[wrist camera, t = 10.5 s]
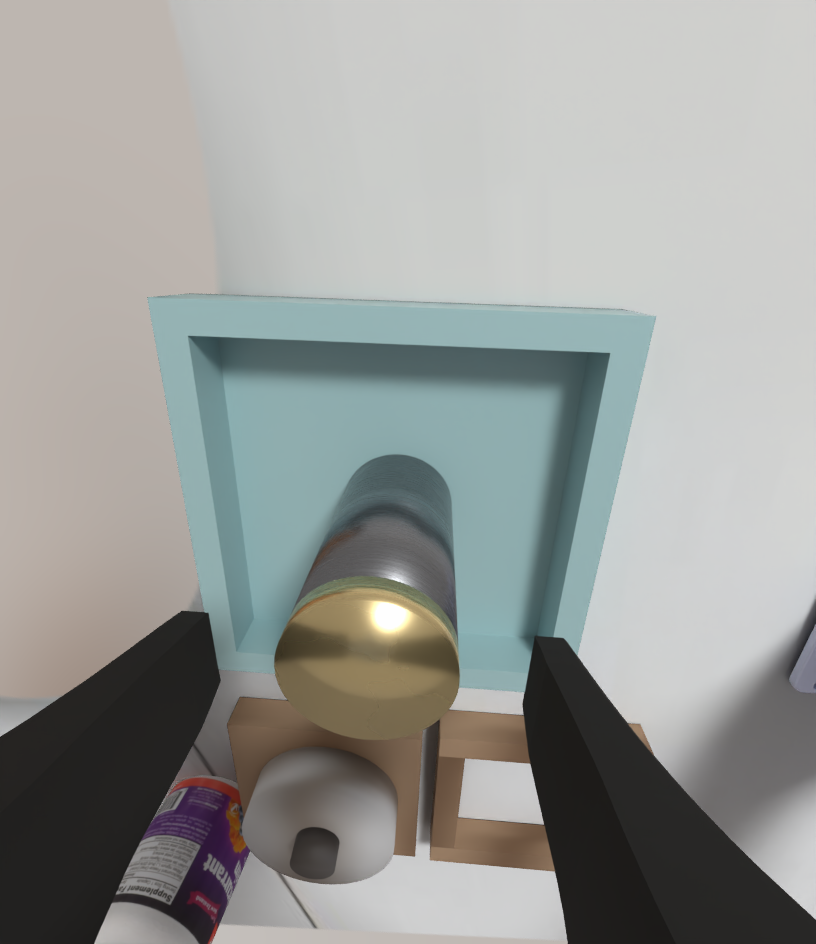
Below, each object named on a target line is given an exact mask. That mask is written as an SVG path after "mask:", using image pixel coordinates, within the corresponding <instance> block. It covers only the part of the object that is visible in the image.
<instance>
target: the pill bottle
mask: <svg viewBox="0 0 816 944" xmlns="http://www.w3.org/2000/svg"><path fill="white" fill-rule="evenodd" d="M243 820H244V817H243V811H242V805H241V800H240V794H239V789H238V783H236V782H234V781H231V780H228V779H225V778H221V777H216V776H194V777H190V778H187V779H184V780H182V781H180V782H179V783H178V784H176V786H175V787H174V788H173V790H172V791H171V792H170V794H169V795H168V797H167V799H166V800H165V802H164V803H163V805H162V806H161V808H160V809H159V811H158V813H157V814H156V816H155V817H154V819H153V821H152V822H151V824H150V825H149V827H148V829H147V831H146V833H145V834H144V836H143V838H142V840H141V842H140V844H139V846H138V848H137V850H136V852H135V854H134V856H133V858H132V860H131V862H130V864H129V866H128V868H127V870H126V872H125V874H124V877H123V879H122V881H121V884H120V886H119V888H118V890H117V893H116V895H115V897H114V899H113V902H112V904H111V906H110V908H109V911H108V913H107V915H106V917H105V920H104V922H103V924H102V926H101V929H100V931H99V933H98V936H97V938H96V940H95V943H94V944H211V943H212V941H213V938H214V936H215V934H216V931H217V929H218V926H219V924H220V922H221V919H222V917H223V915H224V912H225V910H226V907H227V905H228V903H229V900H230V898H231V895H232V893H233V891H234V888H235V886H236V884H237V881H238V879H239V876H240V874H241V871H242V869H243V867H244V864H245V862H246V860H247V857H248V855H249V852H250V849H249V848H248V846H247V845H246V843H245V841H244V838H243V834H242V823H243Z"/></svg>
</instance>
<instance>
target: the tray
mask: <svg viewBox="0 0 816 944" xmlns="http://www.w3.org/2000/svg"><path fill="white" fill-rule="evenodd" d="M148 303H149V309H150V315H151V320H152V326H153V331H154V337H155V342H156V348H157V353H158V359H159V364H160V370H161V375H162V381H163V386H164V392H165V397H166V403H167V409H168V414H169V420H170V425H171V430H172V436H173V442H174V447H175V452H176V458H177V463H178V468H179V475H180V480H181V486H182V491H183V496H184V502H185V508H186V513H187V519H188V524H189V530H190V535H191V541H192V546H193V552H194V557H195V562H196V568H197V574H198V579H199V585H200V590H201V596H202V601H203V607H204V612H205V613H209V618H210V624H211V630H212V635H213V641H214V647H215V652H216V658H217V664H218V669H219V670H230V671H244V672H257V673H271V674H275V669H274V657H275V652H276V648H277V645H278V643H279V640H280V638H281V635H282V633H283V631H284V629H285V626H286V624H287V622H288V619H289V617H290V615H291V613H292V610H293V608H294V606H295V603H296V601H297V599H298V597H299V594H300V592H301V590H302V587H303V585H304V583H305V581H306V578H307V576H308V574H309V571H310V569H311V567H312V565H313V562H314V560H315V558H316V555H317V553H318V551H319V549H320V546H321V544H322V542H323V539H324V537H325V535H326V533H327V530H328V528H329V526H330V523H331V521H332V519H333V517H334V514H335V512H336V510H337V507H338V505H339V503H340V501H341V498H342V496H343V494H344V491H345V489H346V487H347V485H348V482H349V480H350V479H351V477H352V475H353V474H354V473H355V472H356V470H358V469H359V468H360V467H361V466H362V465H363V464H365V463H366V462H368V461H370V460H372V459H374V458H377V457H380V456H384V455H391V454H402V455H408V456H412V457H416V458H418V459H420V460H423V461H424V462H426V463H428V464H429V465H431V466H432V467H433V468H435V469H436V470H437V471H438V472H439V473H440V475H441V476H442V477H443V478H444V480H445V482H446V483H447V486H448V488H449V491H450V494H451V501H452V520H453V542H454V563H455V584H456V605H457V627H458V648H459V669H460V682H459V687H461V688H475V689H488V690H502V691H515V692H525V688H526V682H527V677H528V671H529V666H530V660H531V655H532V649H533V644H534V638H535V636H544V637H558V638H564V639H565V640H566V641H567V642H568V644H569V645H570V646H571V648H572V649H573V651H574V652H575V653H576V655H578V650H579V646H580V642H581V637H582V633H583V629H584V625H585V620H586V616H587V612H588V607H589V603H590V599H591V595H592V590H593V586H594V582H595V577H596V573H597V569H598V564H599V560H600V556H601V552H602V547H603V543H604V539H605V534H606V530H607V526H608V521H609V517H610V513H611V509H612V504H613V500H614V496H615V491H616V487H617V483H618V479H619V474H620V470H621V466H622V461H623V457H624V453H625V448H626V444H627V440H628V436H629V431H630V427H631V423H632V418H633V414H634V410H635V405H636V401H637V397H638V393H639V388H640V384H641V380H642V375H643V371H644V367H645V362H646V358H647V354H648V350H649V345H650V341H651V337H652V332H653V328H654V324H655V320H656V316H652V315H647V314H642V313H638V312H633V311H628V310H623V309H599V308H572V307H545V306H517V305H490V304H463V303H436V302H408V301H381V300H354V299H327V298H299V297H272V296H245V295H218V294H180V295H169V296H158V297H148Z"/></svg>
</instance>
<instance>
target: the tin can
mask: <svg viewBox="0 0 816 944" xmlns="http://www.w3.org/2000/svg"><path fill="white" fill-rule="evenodd" d="M274 669H275V675H276V678H277V681H278V685H279V687H280V689H281V691H282V693H283V694H284V696H285V697H286V698H287V700H288V701H289V702H290V704H291V705H292V706H293V707H294V708H295V709H296V710H297V711H298V712H299V713H301V714H302V715H303V716H304V717H306V718H307V719H308V720H310V721H311V722H313V723H315V724H316V725H318V726H320V727H322V728H324V729H326V730H329V731H331V732H334V733H337V734H340V735H343V736H347V737H351V738H357V739H364V740H388V739H396V738H401V737H405V736H409V735H412V734H415V733H418V732H420V731H422V730H424V729H426V728H428V727H429V726H431V725H433V724H434V723H436V722H437V721H438V720H439V719H440V718H442V717H443V716H444V714H445V713H446V712H447V711H448V710H449V708H450V707H451V705H452V704H453V702H454V700H455V698H456V695H457V693H458V688H459V682H460V669H459V648H458V627H457V605H456V584H455V563H454V542H453V520H452V501H451V494H450V491H449V488H448V486H447V483H446V482H445V480H444V478H443V477H442V476H441V475H440V473H439V472H438V471H437V470H436V469H435V468H433V467H432V466H431V465H429V464H428V463H426V462H424V461H423V460H420V459H418V458H416V457H412V456H408V455H402V454H391V455H384V456H380V457H377V458H374V459H372V460H370V461H368V462H366V463H365V464H363V465H362V466H361V467H360V468H359V469H358V470H356V472H355V473H354V474H353V475H352V477H351V479H350V480H349V482H348V485H347V487H346V489H345V491H344V494H343V496H342V498H341V501H340V503H339V505H338V507H337V510H336V512H335V514H334V517H333V519H332V521H331V523H330V526H329V528H328V530H327V533H326V535H325V537H324V539H323V542H322V544H321V546H320V549H319V551H318V553H317V555H316V558H315V560H314V562H313V565H312V567H311V569H310V571H309V574H308V576H307V578H306V581H305V583H304V585H303V587H302V590H301V592H300V594H299V597H298V599H297V601H296V603H295V606H294V608H293V610H292V613H291V615H290V617H289V619H288V622H287V624H286V626H285V629H284V631H283V633H282V635H281V638H280V640H279V643H278V645H277V648H276V652H275V657H274Z"/></svg>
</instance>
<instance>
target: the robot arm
mask: <svg viewBox="0 0 816 944" xmlns="http://www.w3.org/2000/svg"><path fill="white" fill-rule="evenodd" d="M789 681H790V684H791V685H792V686H793V687H794V688H795V689H796V690H797V691H799V692H803V693H816V624H815V626H814V629H813V631H812V633H811V635H810V637H809V639H808V641H807V643H806V645H805V647H804V649H803V651H802V653H801V655H800V657H799V659H798V661H797V664H796V666H795V668H794V670H793V672H792V674H791V676H790V679H789ZM219 683H220V675H219V669H218V664H217V658H216V652H215V647H214V641H213V635H212V630H211V624H210V618H209V613H205V612H191V611H181V612H180V613H178V614H177V615H175V616H174V617H173V618H171V619H170V620H168V621H167V622H165V623H164V624H163V625H161V626H160V627H158V628H157V629H156V630H154V631H153V632H152V633H150V634H149V635H148V636H146V637H145V638H144V639H142V640H141V641H139V642H138V643H137V644H135V645H134V646H133V647H131V648H130V649H129V650H127V651H126V652H124V653H123V654H122V655H120V656H119V657H118V658H116V659H115V660H113V661H112V662H111V663H109V664H108V665H106V666H105V667H104V668H102V669H101V670H100V671H98V672H97V673H95V674H94V675H93V676H91V677H90V678H89V679H87V680H86V681H84V682H83V683H81V684H80V685H78V686H77V687H75V688H74V689H73V690H71V691H69V692H68V693H66V694H65V695H63V696H62V697H60V698H59V699H57V700H56V701H54V702H53V703H51V704H50V705H49V706H47V707H46V708H44V709H43V710H41V711H40V712H38V713H37V714H35V715H34V716H32V717H31V718H29V719H28V720H26V721H25V722H23V723H21V724H20V725H18V726H17V727H15V728H14V729H12V730H10V731H9V732H7V733H6V734H4V735H2V736H1V737H0V944H94V943H95V940H96V938H97V936H98V933H99V931H100V929H101V926H102V924H103V922H104V920H105V917H106V915H107V913H108V911H109V908H110V906H111V904H112V902H113V899H114V897H115V895H116V893H117V890H118V888H119V886H120V884H121V881H122V879H123V877H124V874H125V872H126V870H127V868H128V866H129V864H130V862H131V860H132V858H133V856H134V854H135V852H136V850H137V848H138V846H139V844H140V842H141V840H142V838H143V836H144V834H145V833H146V831H147V829H148V827H149V825H150V823H151V821H152V820H153V818H154V816H155V814H156V812H157V810H158V809H159V807H160V805H161V803H162V801H163V799H164V798H165V796H166V794H167V792H168V790H169V788H170V786H171V785H172V783H173V781H174V779H175V777H176V775H177V774H178V772H179V770H180V768H181V766H182V764H183V762H184V761H185V759H186V757H187V755H188V753H189V751H190V749H191V747H192V746H193V744H194V742H195V740H196V738H197V736H198V734H199V732H200V730H201V728H202V726H203V724H204V721H205V719H206V716H207V714H208V712H209V709H210V707H211V704H212V702H213V699H214V696H215V694H216V691H217V689H218V686H219ZM523 713H524V722H525V731H526V738H527V746H528V754H529V759H530V764H531V768H532V773H533V777H534V781H535V786H536V790H537V795H538V799H539V804H540V808H541V812H542V817H543V821H544V825H545V830H546V834H547V839H548V843H549V847H550V852H551V856H552V860H553V865H554V869H555V873H556V878H557V882H558V888H559V893H560V898H561V903H562V908H563V914H564V920H565V927H566V934H567V940H568V944H816V920H815V919H814V918H813V917H812V916H811V915H810V914H809V913H808V912H807V911H806V910H805V909H803V908H802V907H801V906H800V905H799V904H798V903H797V902H796V901H795V900H794V899H793V898H792V897H790V896H789V895H788V894H787V893H786V892H785V891H784V890H783V889H782V888H781V887H780V886H779V885H778V884H776V883H775V882H774V881H773V880H772V879H771V878H770V877H769V876H768V875H767V874H766V873H765V872H764V871H762V870H761V869H760V868H759V867H758V866H757V865H756V864H755V863H754V862H753V861H752V860H751V859H750V858H749V857H748V856H747V855H746V854H745V853H744V852H743V851H742V850H741V849H740V848H739V847H738V846H737V845H736V844H735V843H734V842H733V841H732V840H731V839H730V838H729V837H728V836H727V835H726V834H725V833H724V832H723V831H722V830H721V829H720V828H719V827H718V826H717V825H716V824H715V823H714V822H713V821H712V820H711V819H710V817H709V816H708V815H707V814H706V813H705V812H704V811H703V810H702V809H701V808H700V807H699V806H698V805H697V804H696V803H695V802H694V800H693V799H692V798H691V797H690V796H689V795H688V794H687V793H686V792H685V791H684V789H683V788H682V787H681V786H680V785H679V784H678V783H677V782H676V781H675V779H674V778H673V777H672V776H671V775H670V774H669V773H668V771H667V770H666V769H665V768H664V767H663V766H662V764H661V763H660V762H659V761H658V760H657V759H656V757H655V756H654V755H653V754H652V753H651V752H650V750H649V749H648V748H647V747H646V745H645V744H644V743H643V742H642V741H641V739H640V738H639V737H638V736H637V735H636V733H635V732H634V731H633V729H632V728H631V727H630V726H629V724H628V723H627V722H626V721H625V719H624V718H623V717H622V716H621V714H620V713H619V712H618V710H617V709H616V708H615V707H614V705H613V704H612V703H611V701H610V700H609V699H608V697H607V696H606V695H605V694H604V692H603V691H602V689H601V688H600V687H599V685H598V684H597V683H596V681H595V680H594V679H593V677H592V676H591V674H590V673H589V672H588V670H587V669H586V668H585V666H584V665H583V663H582V662H581V661H580V659H579V658H578V656H577V655H576V653H575V652H574V651H573V649H572V648H571V646H570V645H569V644H568V642H567V641H566V640H565V639H564V638H558V637H544V636H535V638H534V644H533V649H532V655H531V660H530V666H529V671H528V677H527V682H526V688H525V694H524V699H523Z"/></svg>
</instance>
